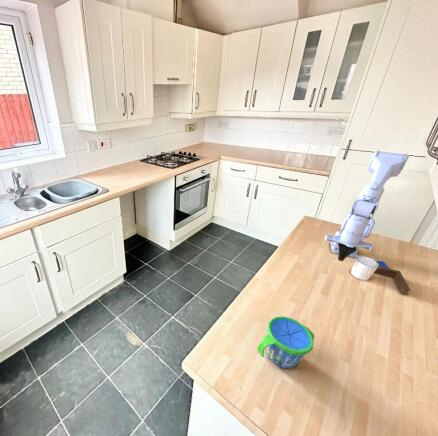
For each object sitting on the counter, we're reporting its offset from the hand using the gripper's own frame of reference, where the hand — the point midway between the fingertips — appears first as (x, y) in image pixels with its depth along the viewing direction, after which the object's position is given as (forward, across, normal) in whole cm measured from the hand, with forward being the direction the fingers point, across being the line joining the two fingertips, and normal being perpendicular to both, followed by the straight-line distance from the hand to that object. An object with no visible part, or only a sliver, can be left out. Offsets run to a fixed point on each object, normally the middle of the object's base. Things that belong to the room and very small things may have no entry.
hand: (340, 259), depth 97 cm
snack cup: (+5, -18, -50) cm, 54 cm away
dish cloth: (+5, +14, +9) cm, 18 cm away
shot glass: (+5, +8, 0) cm, 10 cm away
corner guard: (+5, +16, 0) cm, 17 cm away
